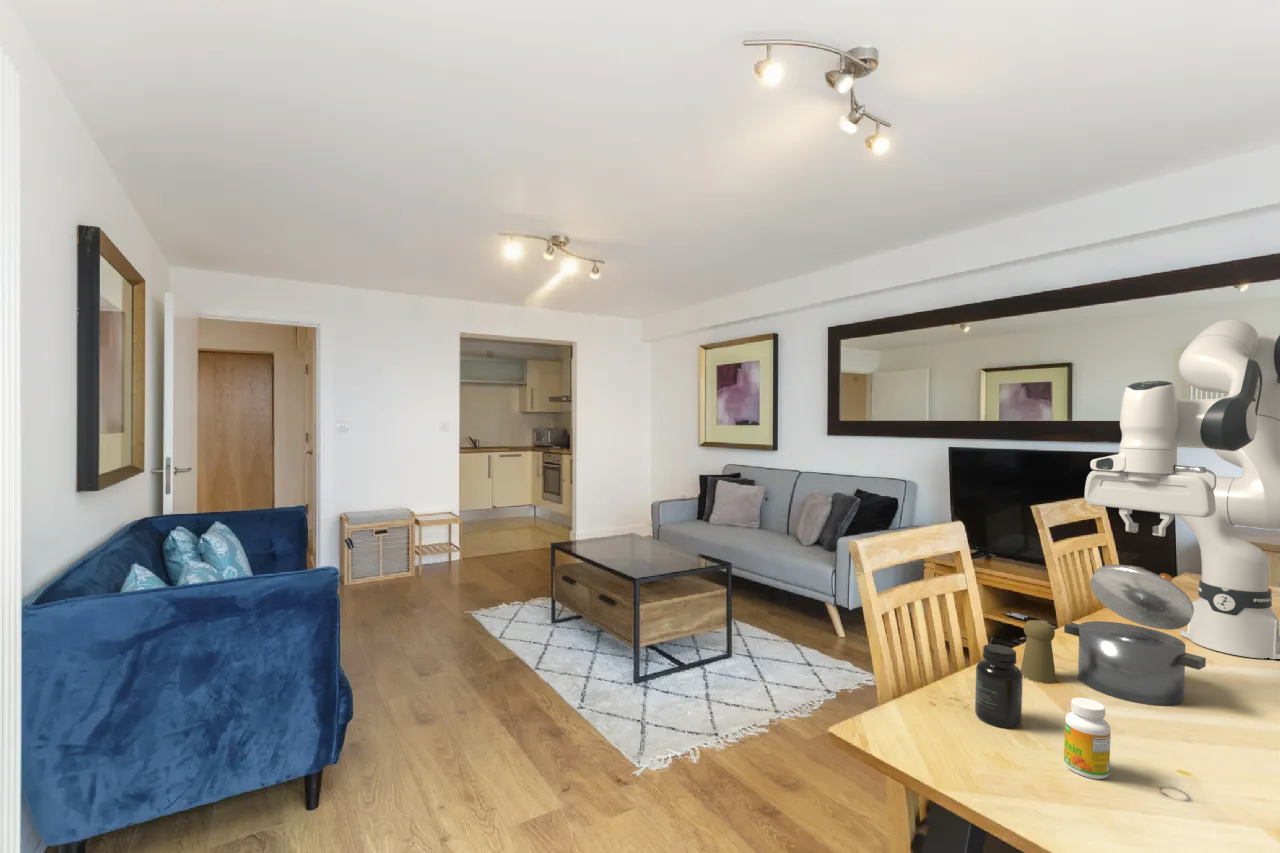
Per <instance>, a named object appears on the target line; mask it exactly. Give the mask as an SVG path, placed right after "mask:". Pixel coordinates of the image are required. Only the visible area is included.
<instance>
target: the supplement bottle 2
mask: <svg viewBox="0 0 1280 853" xmlns="http://www.w3.org/2000/svg"><path fill="white" fill-rule="evenodd" d="M1070 703H1071V704H1070V709H1071V712H1068V713H1067V714H1066V715H1065V718H1064V747H1063V748H1064V749H1063V751H1064V752H1063V763H1064V765H1065V767H1067V769H1068V770H1070V771H1071V772H1073V773H1075V774H1077V775H1079V776H1083V777H1085V778H1088V779H1093V780H1103V779H1106V778H1108V777H1109V775H1110V765H1111V764H1110V762H1111V758H1110V757H1111V756H1110V755H1111V726H1110V724H1109V723H1108V721H1106V720H1105V717H1106V707H1105V705H1103V704H1102V703H1101V702H1099V701H1097V700H1095V699H1090V698H1085V697H1073V698H1071V702H1070Z"/></svg>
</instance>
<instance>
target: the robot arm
mask: <svg viewBox="0 0 1280 853" xmlns="http://www.w3.org/2000/svg"><path fill="white" fill-rule="evenodd" d="M1177 367H1178V372H1179V374H1180V376H1181V378H1182V379H1183V380H1184V381H1185V382H1186V383H1187V384H1188V385H1189V386H1191V387H1193V388H1195V389H1197V390H1200V391H1203V392H1207V393H1215V394H1216V393H1219V394H1225V395H1224V397H1218V398H1192V399H1191V398H1190V399H1189V398H1186V399H1185V398H1184V399H1183V398H1182V399H1181V398H1180V399H1179V398H1177V391H1176V386H1175V384H1174V383H1173V382H1170V381H1168V380H1167V381H1164V380H1154V381H1153V380H1149V381H1140V382H1134V383H1131V384H1130V385H1128V386H1126V387H1125V389H1124V392H1123V396H1122V400H1121V404H1120V406H1121V407H1120V414H1119V415H1120V417H1119V427H1120V431H1121V440H1120V443H1119V446H1118V447H1119V448H1118V453H1117V454H1111V455H1108V456H1103V457H1098V458H1094V459H1092V460H1091V461H1090V462H1089V463H1090V464H1089V465H1090V469H1091V471H1090V472H1089V473H1088V475H1087V476H1086V480H1085V486H1084V500H1085V502H1086V503H1087V504H1088V505H1090V506H1097V507H1109V508H1118V509H1119V510H1118V514H1119V515H1120V517H1121V519H1122V520H1123V522H1124V523H1125V532H1128V533H1135V534H1136V533H1138V532H1139V522H1138V523H1137V522H1134V521H1133V519H1132V518H1131V516H1130V515H1131V514H1133V510H1134V511H1143V512H1152V513H1160V514H1159V518H1160V519H1161V520H1162V521H1161V522H1160V524H1158V525H1154V526H1152V536H1155V537H1156V536H1157V537H1165V536H1166V533H1167V532H1166V530H1167V527H1168V526H1169V525H1170V524H1171V522H1173V520H1174V515H1175V516H1176V517H1178V518H1179V519H1180V520H1181V521H1182V522H1184V523H1185V524H1186V525H1187V526H1188V528H1189V529H1190V530H1191V531H1192V533H1193V535H1194V536H1195V538H1196V541H1197V543H1198V546H1199V550H1200V559H1201V561H1200V562H1201V580H1199V582H1198V586H1197V589H1198V593H1197V594H1198V596H1199V598H1198V599H1196V600H1194V601H1191V602H1192V604H1193V607H1194V613H1193V616H1192V618H1191V621H1190V622H1189V624H1187V628H1185V629H1181V630H1179V635H1180V636H1182V637H1184V638H1186V639H1189V640H1190V642H1192V643H1194V644H1197V645H1199V646H1201V647H1204V648H1207V649H1209V650H1213V651H1218V652H1221V653H1225V654H1229V655H1235V656H1240V657H1246V658H1251V659H1252V658H1253V659H1254V658H1255V659H1264V658H1265V659H1266V658H1270V659H1269V660H1275V659H1280V619H1279V618H1278V617H1277V615H1276V614H1275V612H1274V610H1273V609H1272V608H1271V607H1272V605H1273V604H1272V602H1273V601H1272V600H1273V596H1272V595H1273V594H1272V593H1273V590H1272V588H1270V587H1269V581H1270V580H1269V579H1270V578H1269V573H1270V560H1269V557H1268V555H1267V554H1266V553H1265V552H1264V551H1263V549H1261V548H1260V547H1259V546H1257V545H1255V544H1253V543H1251V542H1249V541H1247V540H1245V539H1243V537H1241V536H1239V534H1238V532H1237V530H1236V528H1235V526H1238V527H1247V528H1256V529H1263V530H1273V531H1280V334H1275V333H1269V334H1267V333H1266V334H1265V333H1264V334H1258V332H1257V329H1255V328H1254V327H1253V326H1252V325H1251V324H1250V323H1248V322H1246V321H1243V320H1239V319H1222V320H1220V321H1219V320H1218V321H1216V322H1215V323H1213V324H1211V325H1209V326H1208V327H1206V328H1205V329H1203V330H1202V331H1201V332H1200V333H1199V334H1197V335H1196V336H1195V337H1194V338H1193V339H1192V341H1190V343H1189V344H1188V345H1187V346H1186V348H1184V351H1183V352H1182V353H1181V355H1180V357H1179V360H1178V365H1177ZM1178 448H1186V449H1187V448H1188V449H1189V448H1191V449H1193V448H1194V449H1211V450H1214V452H1215V454H1216V455H1217V456H1218V457H1219V458H1221V459H1222V460H1224V462H1228V463H1230V464H1232V465H1234V466H1236V467H1238V468H1240V469H1242V474H1241V476H1237V477H1234V476H1222V475H1221V476H1220V475H1216V474H1215V473H1214V472H1213V471H1212V470H1210V469H1207V468H1206V467H1205V466H1189V465H1178ZM1266 660H1267V659H1266Z"/></svg>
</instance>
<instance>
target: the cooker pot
mask: <svg viewBox="0 0 1280 853" xmlns="http://www.w3.org/2000/svg"><path fill="white" fill-rule="evenodd" d="M1063 626H1064V627H1063V631H1064V632H1063V633H1065V634H1068V635H1072V636H1076V637H1078V666H1077V667H1078V668H1077V678H1078V680H1079V681H1080V682H1081V683H1083V684H1084V685H1085V686H1087V687H1088V688H1090V689H1093V690H1095V691H1096V692H1099V693H1101V694H1105V695H1108V696H1111V697H1112V698H1117V699H1120V700H1124V701H1127V702H1131V703H1137V704H1143V705H1149V706H1162V707H1163V706H1164V707H1171V706H1178V705H1180V704H1182V703H1184V700H1185V676H1186V674H1185V673H1186V672H1185V670H1186V668H1191V669H1194V670H1197V671H1199V670H1202V669H1203V668H1206V664H1207V663H1206V662H1207V661H1206V657H1205V656H1200V655H1197V654H1193V653H1188V652H1186V643H1185V642H1184V641H1183V640H1181V639H1180V638H1178V637H1176V636H1174V635H1172V634H1168V633H1166V632H1162V631H1161V630H1156V629H1154V628H1150V627H1146V626H1141V625H1139V626H1138V625H1134V624H1129V623H1123V622H1113V621H1103V620H1102V621H1099V620H1098V621H1096V620H1095V621H1094V620H1093V621H1084V622H1081V623H1079V624H1078V623H1076V622H1069V623H1065V624H1064V625H1063ZM1185 667H1186V668H1185Z"/></svg>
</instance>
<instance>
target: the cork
mask: <svg viewBox="0 0 1280 853" xmlns="http://www.w3.org/2000/svg"><path fill="white" fill-rule="evenodd" d="M1023 631H1024V634H1025V636H1026V638H1025V639H1026V640H1025V644H1024V650H1023V656H1022V661H1021V667H1020V671H1021V672H1022V675H1023V676H1024V677H1026V678H1028V679H1030V680H1029V681H1031V680H1033V681H1032V682H1035V681H1037V682H1036V683H1039V682H1043V683H1042V684H1054V682H1055V681H1056V682H1057V676H1056V670H1055V662H1054V660H1055V659H1054V652H1053V645H1052V641H1054V638H1055V635H1056V631H1055V628H1054V626H1053V625H1052V624H1050V623H1048V622H1045V621H1042V620H1034V619H1033V620H1032V619H1031V620H1030V619H1029V620H1027V621H1026V622H1025V623H1024V626H1023ZM1024 677H1023V678H1024ZM1026 678H1025V679H1026ZM1028 679H1027V680H1028ZM1056 682H1055V683H1056Z"/></svg>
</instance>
